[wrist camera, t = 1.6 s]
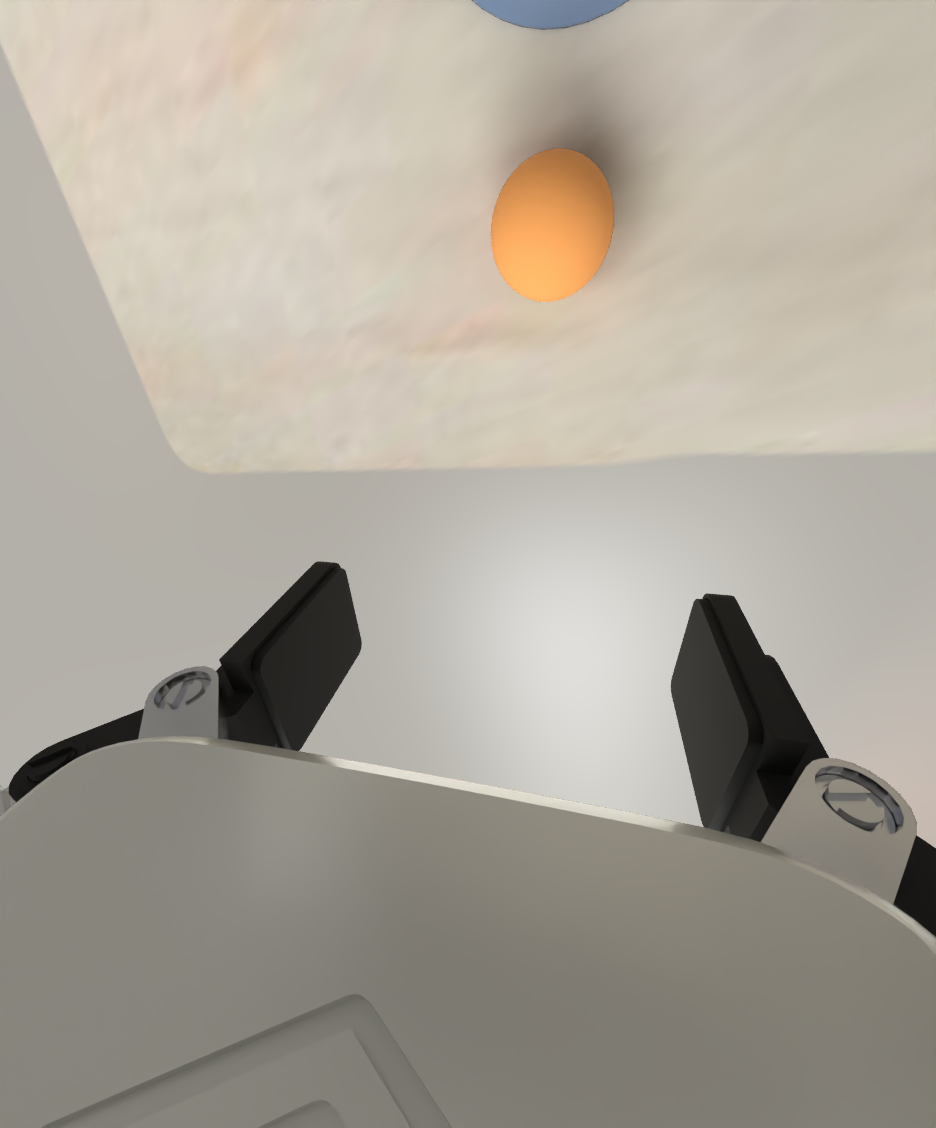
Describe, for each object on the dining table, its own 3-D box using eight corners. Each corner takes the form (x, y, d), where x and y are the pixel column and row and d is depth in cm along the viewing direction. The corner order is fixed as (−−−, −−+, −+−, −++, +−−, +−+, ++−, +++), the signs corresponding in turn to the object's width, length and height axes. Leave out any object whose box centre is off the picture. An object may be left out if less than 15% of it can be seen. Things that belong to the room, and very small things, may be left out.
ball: (500, 172, 19) (479, 138, 15) (617, 160, 18) (629, 120, 14) (500, 302, 22) (482, 305, 18) (602, 298, 21) (608, 299, 17)
